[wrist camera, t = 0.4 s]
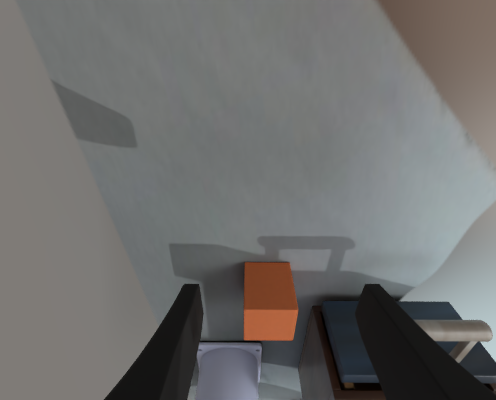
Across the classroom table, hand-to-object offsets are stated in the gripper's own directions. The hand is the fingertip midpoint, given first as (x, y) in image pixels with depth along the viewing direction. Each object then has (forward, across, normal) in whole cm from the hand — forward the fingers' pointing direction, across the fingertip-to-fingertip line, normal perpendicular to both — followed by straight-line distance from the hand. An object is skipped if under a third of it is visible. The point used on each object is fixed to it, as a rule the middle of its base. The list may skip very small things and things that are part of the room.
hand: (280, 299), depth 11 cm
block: (+10, 0, +10) cm, 14 cm away
